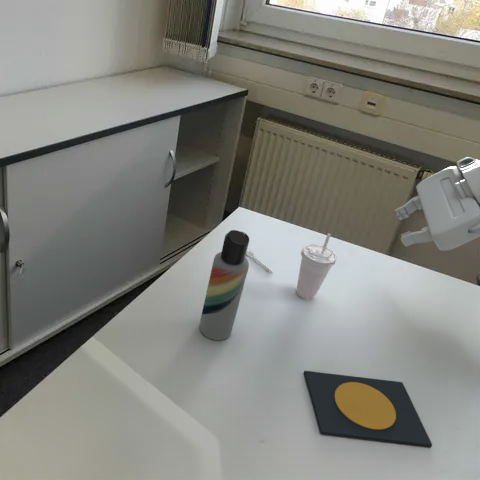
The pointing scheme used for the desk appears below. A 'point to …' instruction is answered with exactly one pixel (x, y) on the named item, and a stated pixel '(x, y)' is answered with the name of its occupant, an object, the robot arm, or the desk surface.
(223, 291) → the lotion bottle
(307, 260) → the smoothie
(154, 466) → the desk surface
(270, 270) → the white spoon
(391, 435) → the mat
